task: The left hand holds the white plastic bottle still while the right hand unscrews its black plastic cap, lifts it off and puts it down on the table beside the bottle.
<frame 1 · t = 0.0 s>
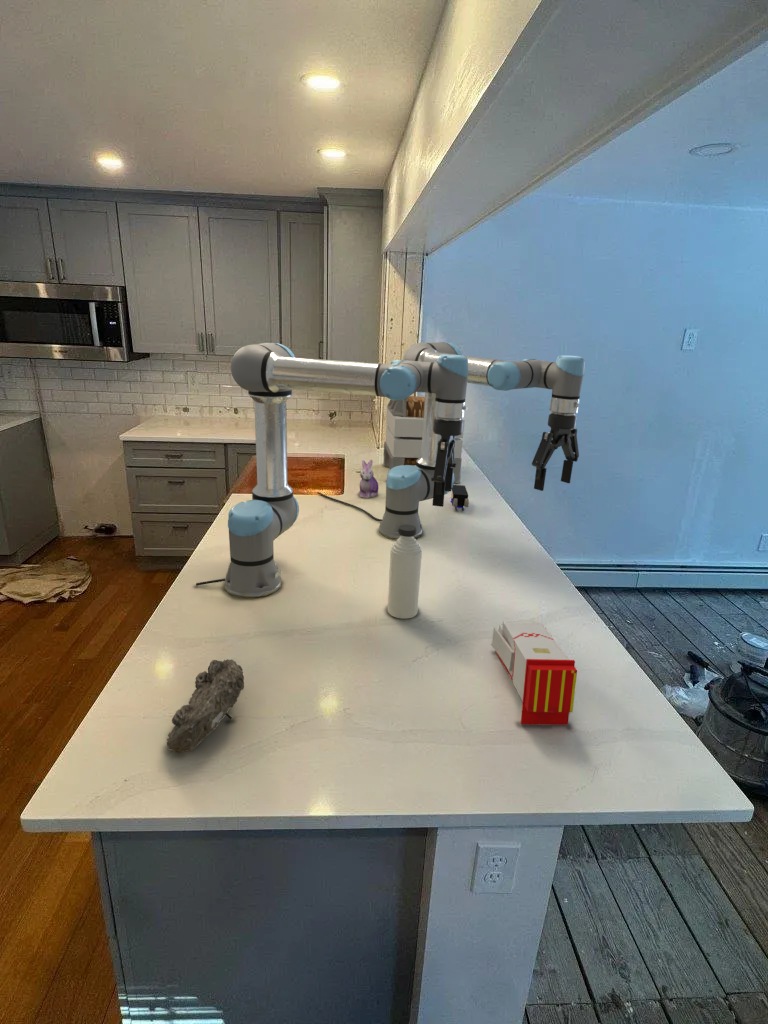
left hand: (442, 498, 150), 28 cm above the counter, tool pointing down, fingers open, 13 cm apart
right hand: (552, 485, 166), 28 cm above the counter, tool pointing down, fingers open, 13 cm apart
cap: (407, 528, 141), point 23 cm above the counter, screwed on, not yet turned
figurine character: (458, 507, 230), on the counter
figurine: (368, 495, 239), on the counter
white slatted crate: (419, 473, 275), on the counter
toy: (525, 682, 123), on the counter
bottle: (402, 610, 149), on the counter
fossil: (212, 717, 108), on the counter
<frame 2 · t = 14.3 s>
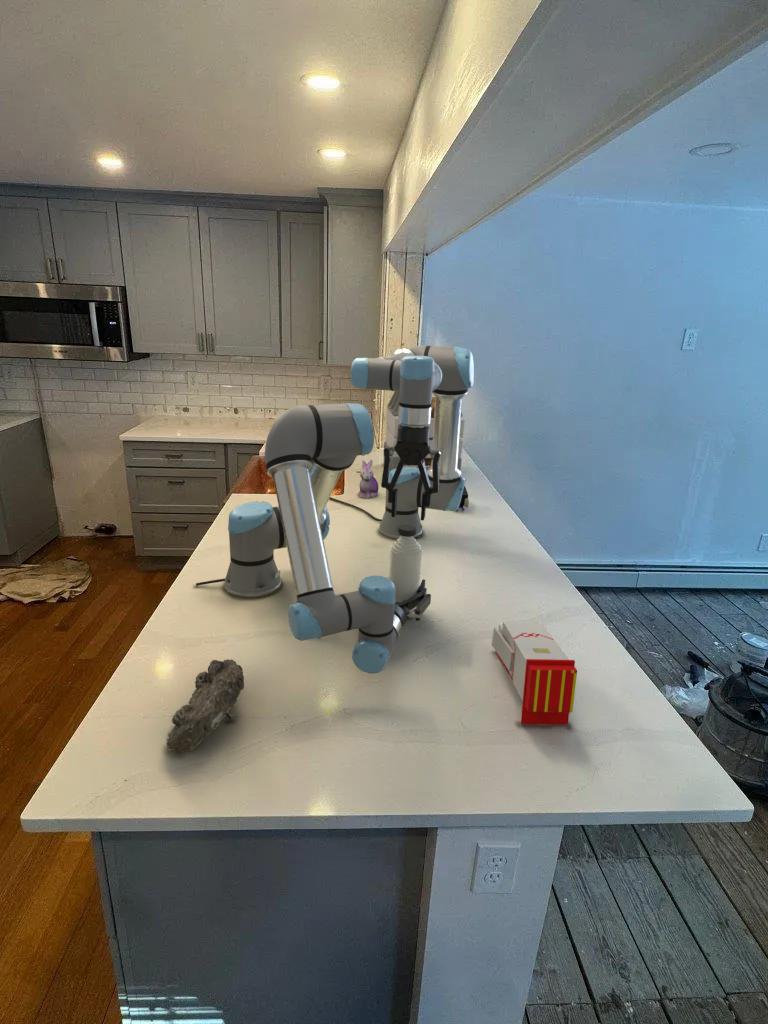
left hand: (407, 581, 151), 6 cm above the counter, tool horizontal, fingers closed on bottle, 8 cm apart
right hand: (408, 516, 140), 26 cm above the counter, tool pointing down, fingers open, 7 cm apart
bottle: (402, 610, 149), on the counter, touching left hand
everything else where it was.
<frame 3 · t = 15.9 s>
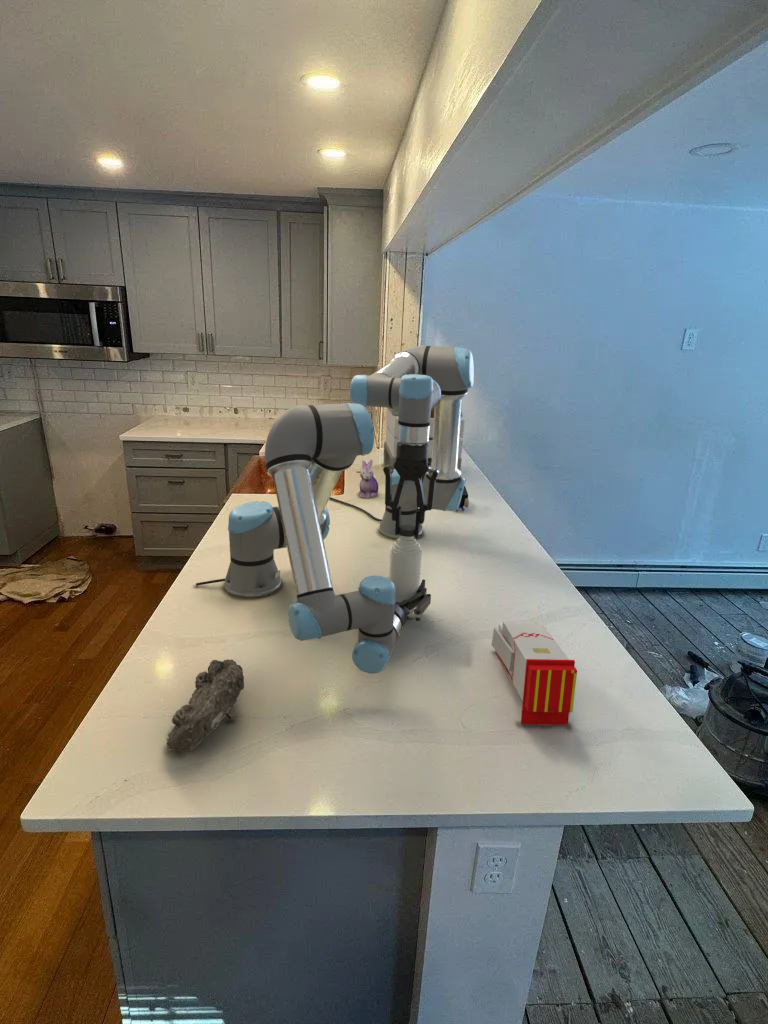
left hand: (407, 581, 151), 6 cm above the counter, tool horizontal, fingers closed on bottle, 8 cm apart
right hand: (407, 533, 142), 22 cm above the counter, tool pointing down, fingers closed on cap, 4 cm apart
cap: (407, 528, 141), point 23 cm above the counter, screwed on, not yet turned, touching right hand
bottle: (402, 610, 149), on the counter, touching left hand
everything else where it was.
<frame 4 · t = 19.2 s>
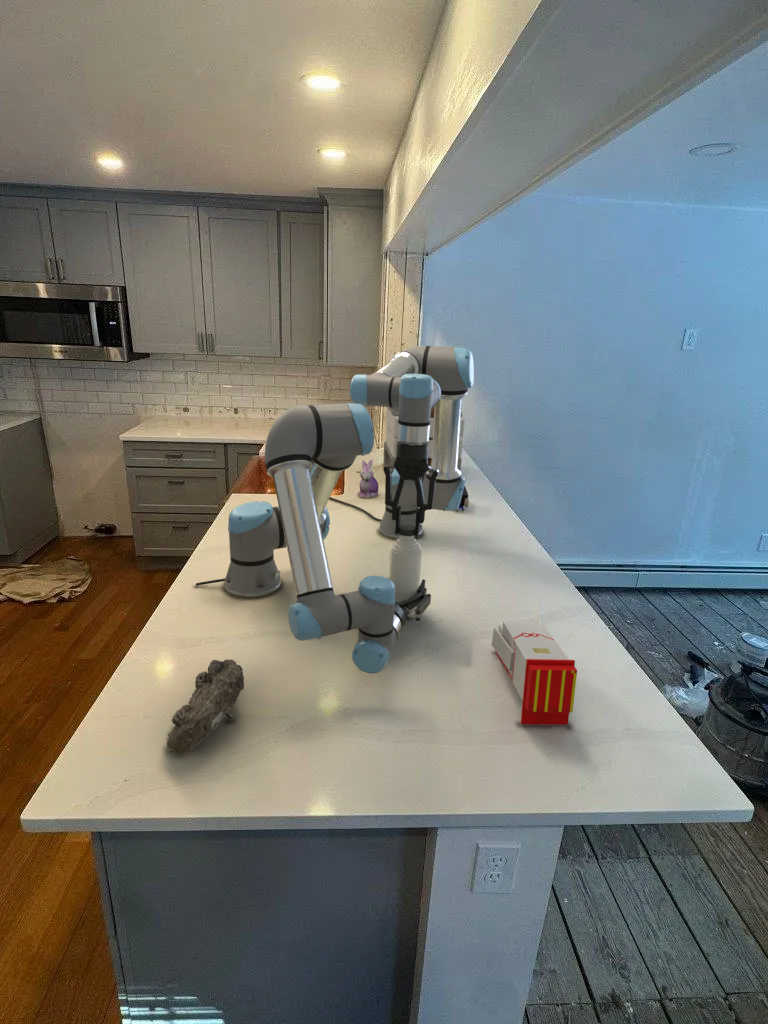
left hand: (407, 581, 151), 6 cm above the counter, tool horizontal, fingers closed on bottle, 8 cm apart
right hand: (407, 533, 142), 22 cm above the counter, tool pointing down, fingers closed on cap, 4 cm apart
cap: (407, 528, 141), point 23 cm above the counter, turned 107° so far, risen 0.1 cm, still on its thread, touching right hand
bottle: (402, 611, 149), on the counter, touching left hand
everything else where it was.
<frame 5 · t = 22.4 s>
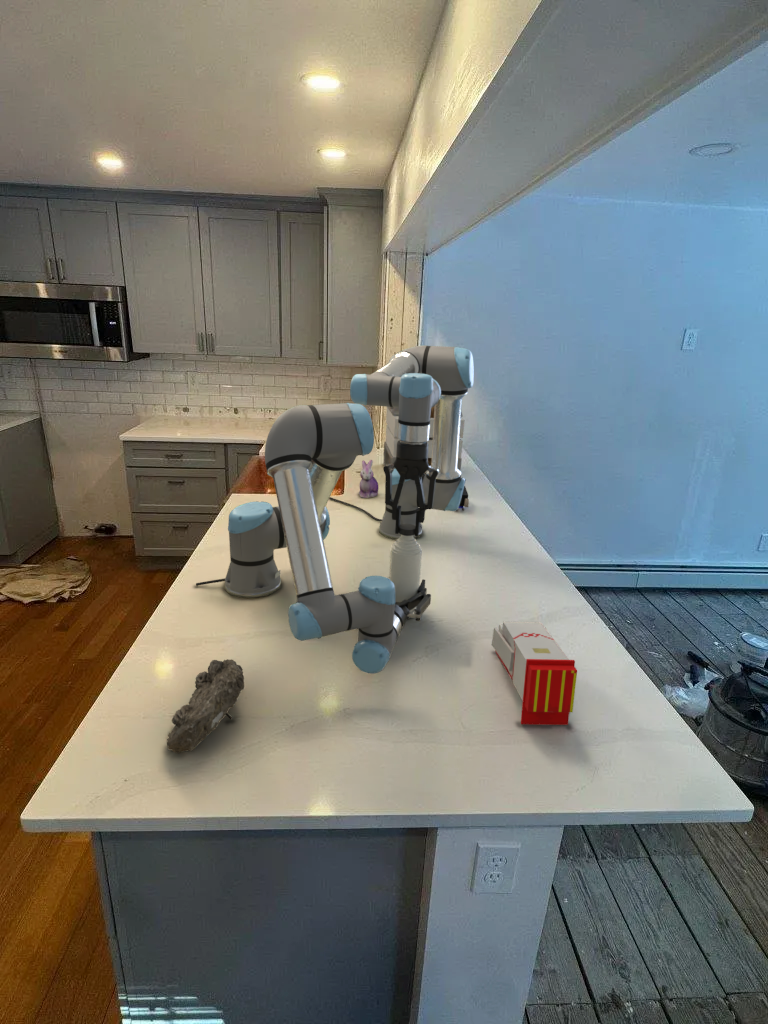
left hand: (407, 581, 151), 6 cm above the counter, tool horizontal, fingers closed on bottle, 8 cm apart
right hand: (407, 532, 142), 22 cm above the counter, tool pointing down, fingers closed on cap, 4 cm apart
cap: (407, 527, 141), point 24 cm above the counter, turned 213° so far, risen 0.2 cm, still on its thread, touching right hand
bottle: (402, 611, 149), on the counter, touching left hand
everything else where it was.
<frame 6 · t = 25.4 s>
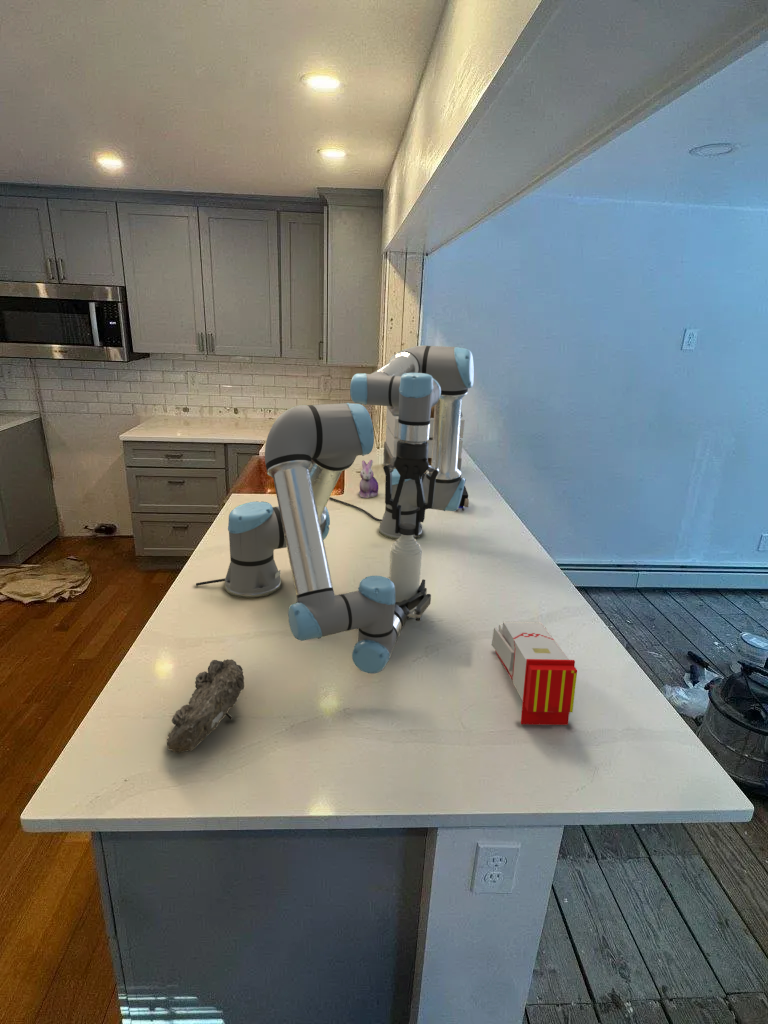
left hand: (407, 581, 151), 6 cm above the counter, tool horizontal, fingers closed on bottle, 8 cm apart
right hand: (407, 532, 142), 22 cm above the counter, tool pointing down, fingers closed on cap, 4 cm apart
cap: (407, 527, 141), point 24 cm above the counter, turned 320° so far, risen 0.3 cm, still on its thread, touching right hand
bottle: (402, 611, 149), on the counter, touching left hand
everything else where it was.
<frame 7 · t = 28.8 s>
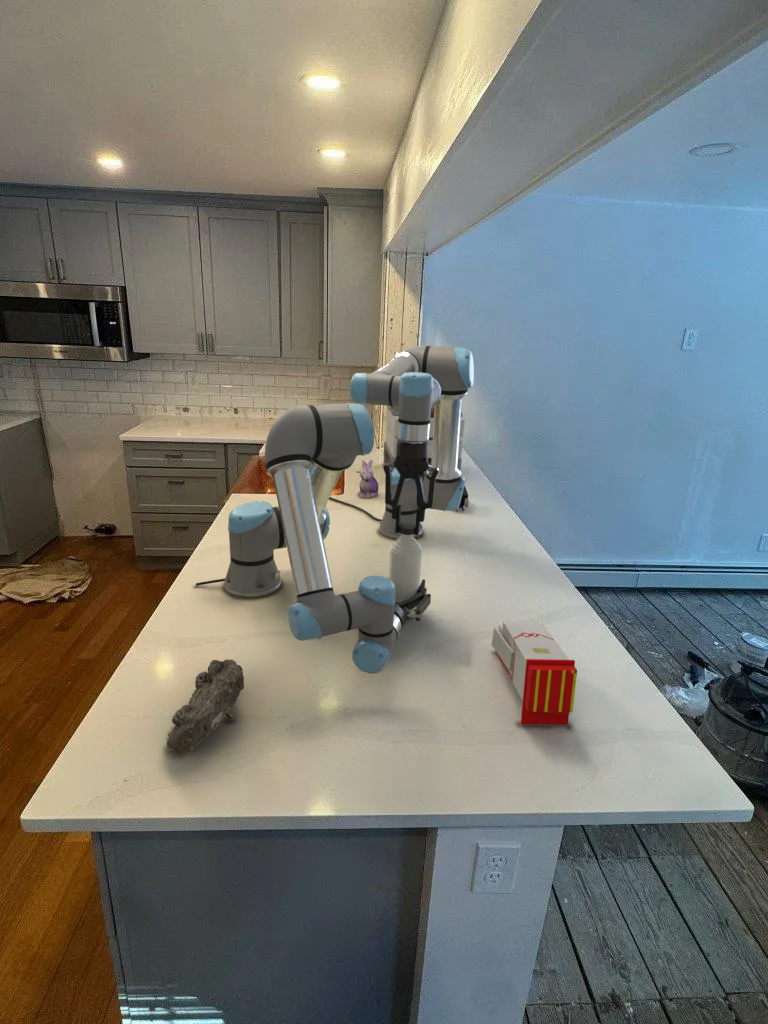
left hand: (407, 581, 151), 6 cm above the counter, tool horizontal, fingers closed on bottle, 8 cm apart
right hand: (407, 531, 142), 22 cm above the counter, tool pointing down, fingers closed on cap, 4 cm apart
cap: (407, 526, 141), point 24 cm above the counter, turned 426° so far, risen 0.5 cm, still on its thread, touching right hand
bottle: (402, 611, 149), on the counter, touching left hand
everything else where it was.
when the right hand's fingers open (1 cm above the counter, at t = 35.8 s): cap drops 1 cm, point 1 cm above the counter.
when the left hand's fingers open (6 cm above the counter, at t = 37.1 s): bottle stays where it is, on the counter.
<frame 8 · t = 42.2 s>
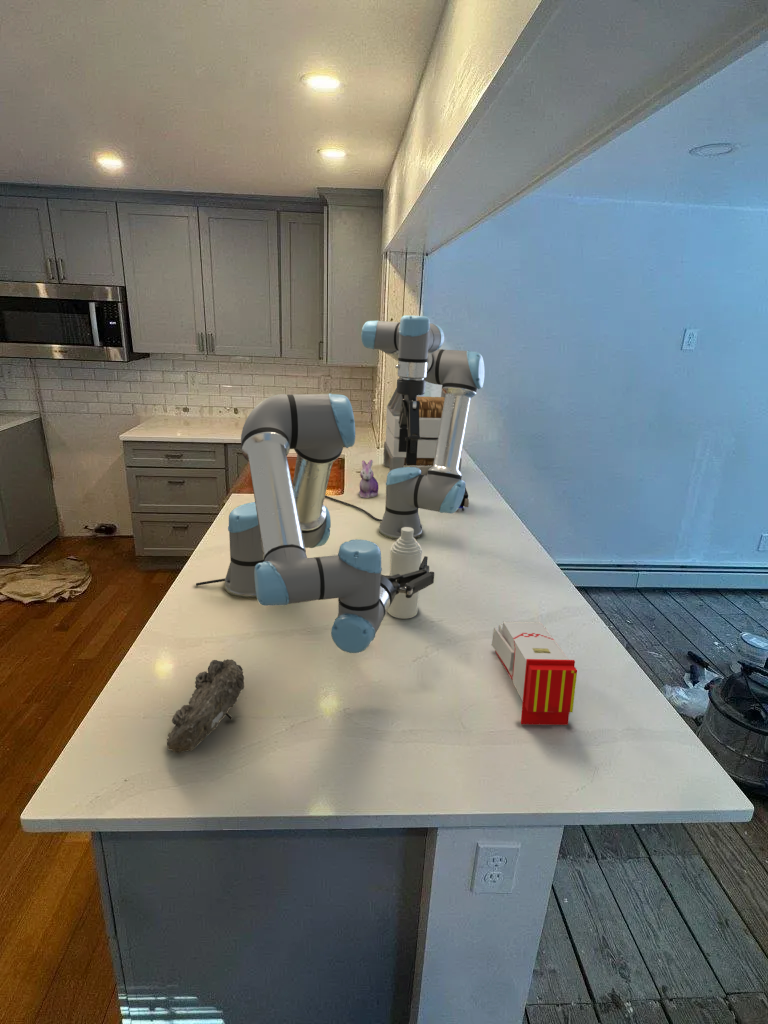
left hand: (397, 557, 133), 20 cm above the counter, tool horizontal, fingers open, 13 cm apart
right hand: (406, 457, 154), 37 cm above the counter, tool pointing down, fingers open, 13 cm apart
cap: (400, 574, 166), point 1 cm above the counter, off its thread
bottle: (402, 611, 149), on the counter
everything else where it was.
at the end: cap came off its thread; cap point 1.3 cm above the counter; the left hand is holding nothing; the right hand is holding nothing; bottle tilted 0°; bottle moved 0.0 cm from its start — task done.
